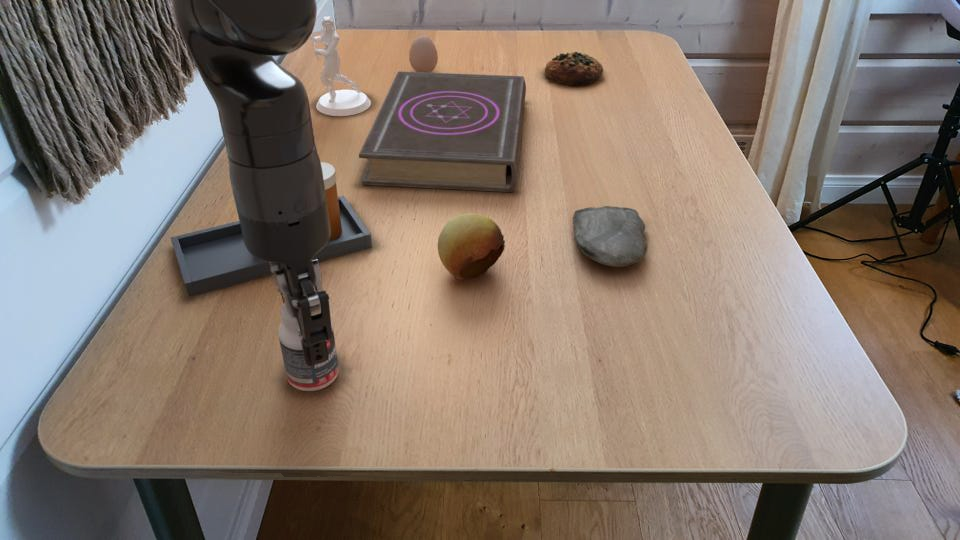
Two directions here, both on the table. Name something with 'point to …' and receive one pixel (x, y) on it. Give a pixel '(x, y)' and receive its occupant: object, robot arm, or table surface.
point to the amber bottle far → (332, 200)
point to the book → (447, 132)
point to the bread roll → (574, 69)
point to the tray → (227, 261)
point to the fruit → (470, 245)
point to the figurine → (336, 77)
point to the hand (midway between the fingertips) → (307, 341)
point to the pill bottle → (295, 362)
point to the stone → (610, 235)
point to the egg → (423, 54)
